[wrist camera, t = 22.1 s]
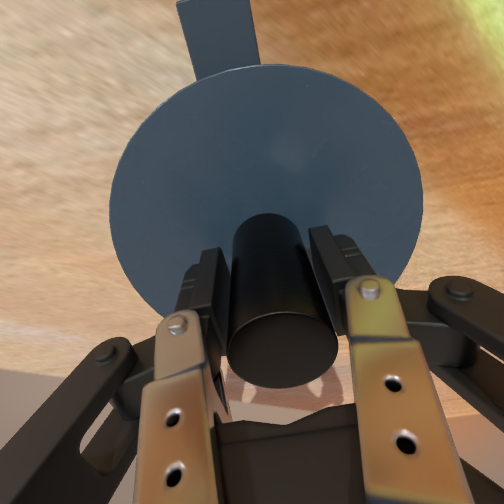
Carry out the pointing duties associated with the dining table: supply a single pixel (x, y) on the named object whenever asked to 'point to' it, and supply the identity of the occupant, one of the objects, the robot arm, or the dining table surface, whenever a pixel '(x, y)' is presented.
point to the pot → (218, 35)
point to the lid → (265, 204)
